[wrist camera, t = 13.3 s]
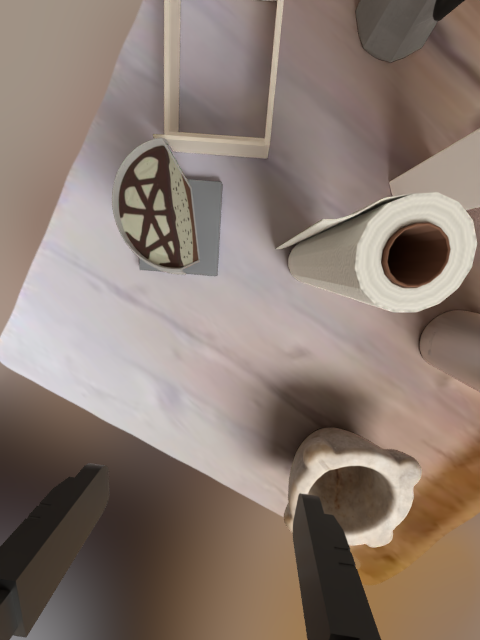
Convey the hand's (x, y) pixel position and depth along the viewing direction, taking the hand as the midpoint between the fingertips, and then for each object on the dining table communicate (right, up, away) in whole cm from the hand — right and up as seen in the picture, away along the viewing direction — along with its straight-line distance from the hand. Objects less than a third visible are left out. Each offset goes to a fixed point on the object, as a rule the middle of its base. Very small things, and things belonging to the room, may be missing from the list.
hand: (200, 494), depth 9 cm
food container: (-7, +20, +22) cm, 30 cm away
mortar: (+17, -16, +30) cm, 38 cm away
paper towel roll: (+11, +16, +23) cm, 30 cm away
